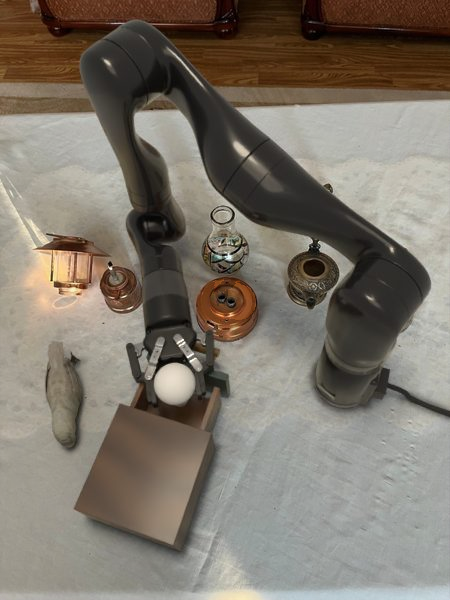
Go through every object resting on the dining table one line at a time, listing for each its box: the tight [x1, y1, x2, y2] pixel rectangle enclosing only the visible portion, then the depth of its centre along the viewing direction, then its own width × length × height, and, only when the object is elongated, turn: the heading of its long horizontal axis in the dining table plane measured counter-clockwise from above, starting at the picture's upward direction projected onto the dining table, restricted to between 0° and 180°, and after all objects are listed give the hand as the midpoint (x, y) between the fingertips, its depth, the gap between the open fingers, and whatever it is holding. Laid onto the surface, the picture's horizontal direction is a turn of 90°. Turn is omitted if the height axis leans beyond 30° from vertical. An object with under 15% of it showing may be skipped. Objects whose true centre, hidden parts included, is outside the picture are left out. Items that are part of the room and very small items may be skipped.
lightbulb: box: [154, 363, 196, 407], centre depth 79 cm, size 6×6×11 cm
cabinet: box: [73, 403, 216, 552], centre depth 77 cm, size 16×15×10 cm
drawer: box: [129, 341, 231, 433], centre depth 83 cm, size 20×13×8 cm
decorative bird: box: [44, 340, 82, 448], centre depth 85 cm, size 5×16×7 cm, turn 11°
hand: (178, 402), depth 77 cm, fingers closed on lightbulb, 6 cm apart
